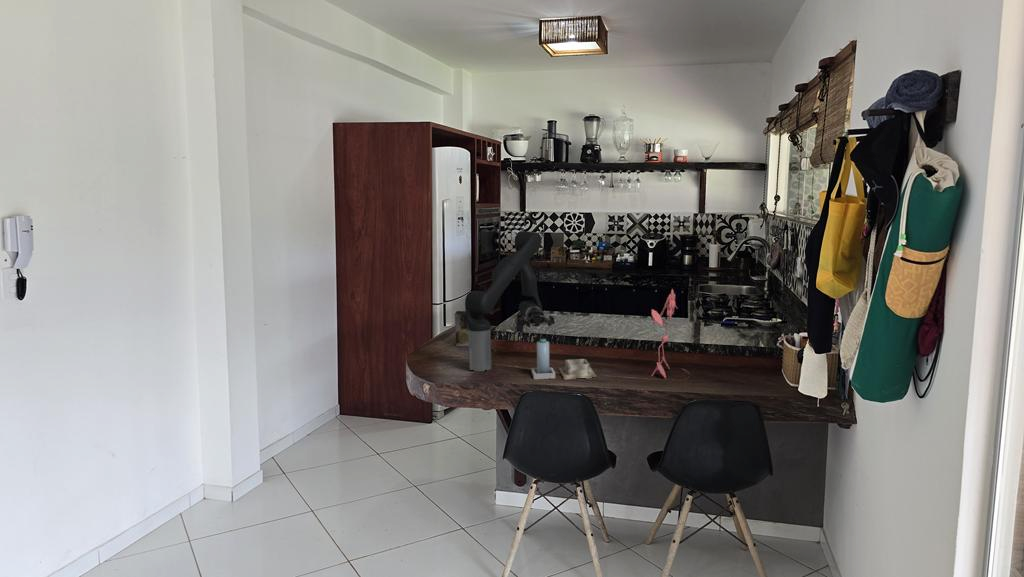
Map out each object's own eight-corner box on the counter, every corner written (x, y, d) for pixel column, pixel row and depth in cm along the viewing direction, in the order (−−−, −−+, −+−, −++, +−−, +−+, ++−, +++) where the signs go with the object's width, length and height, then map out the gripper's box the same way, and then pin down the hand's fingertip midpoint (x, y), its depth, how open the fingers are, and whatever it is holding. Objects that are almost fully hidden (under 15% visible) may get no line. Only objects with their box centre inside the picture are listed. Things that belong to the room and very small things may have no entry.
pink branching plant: (644, 381, 278) (647, 294, 272) (658, 364, 302) (661, 283, 295) (684, 386, 272) (688, 297, 266) (695, 369, 296) (699, 286, 289)
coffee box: (476, 343, 345) (475, 310, 342) (474, 346, 338) (473, 313, 336) (457, 343, 346) (456, 310, 343) (455, 346, 339) (454, 313, 336)
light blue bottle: (538, 377, 287) (537, 341, 284) (536, 374, 292) (535, 338, 289) (550, 377, 287) (549, 340, 285) (548, 373, 292) (548, 337, 290)
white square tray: (534, 379, 285) (534, 374, 285) (531, 373, 293) (531, 368, 293) (555, 378, 286) (555, 373, 285) (552, 372, 294) (552, 367, 294)
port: (564, 379, 284) (564, 367, 283) (559, 370, 297) (558, 358, 296) (596, 378, 285) (596, 365, 284) (589, 368, 298) (589, 357, 297)
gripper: (518, 308, 312) (522, 316, 296) (550, 306, 313) (556, 314, 297) (518, 325, 313) (522, 334, 297) (550, 323, 314) (556, 332, 299)
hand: (539, 324), depth 297 cm, fingers open, 8 cm apart
